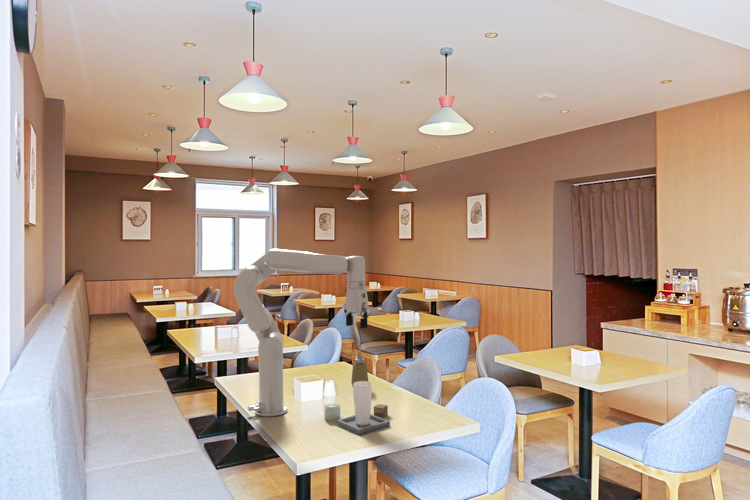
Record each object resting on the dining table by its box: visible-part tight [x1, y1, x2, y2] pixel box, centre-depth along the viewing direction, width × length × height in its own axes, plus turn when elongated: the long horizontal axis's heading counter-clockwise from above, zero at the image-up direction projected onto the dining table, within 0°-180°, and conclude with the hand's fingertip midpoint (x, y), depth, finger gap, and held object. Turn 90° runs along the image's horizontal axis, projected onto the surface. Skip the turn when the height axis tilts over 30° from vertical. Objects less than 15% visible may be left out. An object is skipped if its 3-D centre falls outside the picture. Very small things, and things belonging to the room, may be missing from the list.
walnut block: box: [373, 403, 389, 419], centre depth 197 cm, size 4×4×4 cm
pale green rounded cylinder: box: [324, 403, 341, 422], centre depth 194 cm, size 6×6×5 cm
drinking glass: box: [352, 381, 373, 426], centre depth 186 cm, size 7×7×15 cm
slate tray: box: [336, 413, 391, 436], centre depth 186 cm, size 14×14×2 cm
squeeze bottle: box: [350, 350, 369, 387], centre depth 235 cm, size 8×8×18 cm
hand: (356, 326), depth 208 cm, fingers open, 9 cm apart
